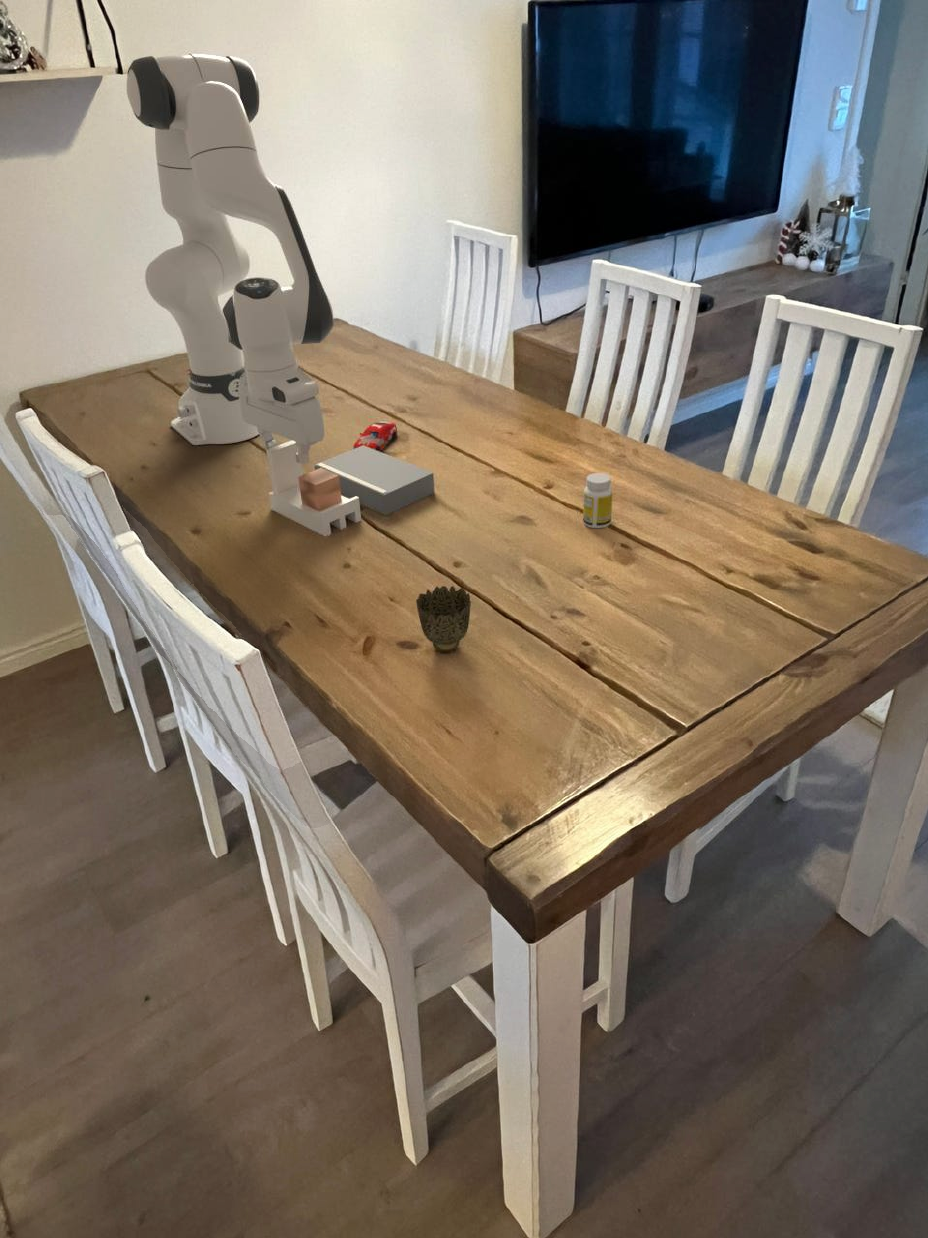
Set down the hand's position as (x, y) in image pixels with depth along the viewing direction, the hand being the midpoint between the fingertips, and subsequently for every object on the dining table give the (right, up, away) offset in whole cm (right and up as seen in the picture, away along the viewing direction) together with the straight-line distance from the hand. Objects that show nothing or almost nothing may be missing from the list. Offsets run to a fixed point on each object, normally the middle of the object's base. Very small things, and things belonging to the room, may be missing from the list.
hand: (287, 456), depth 161 cm
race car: (+13, +7, +27) cm, 31 cm away
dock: (+15, -4, +9) cm, 18 cm away
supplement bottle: (+54, -13, -6) cm, 56 cm away
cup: (+29, -33, -35) cm, 56 cm away
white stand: (+5, -10, +1) cm, 12 cm away
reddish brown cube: (+7, -9, -2) cm, 11 cm away
